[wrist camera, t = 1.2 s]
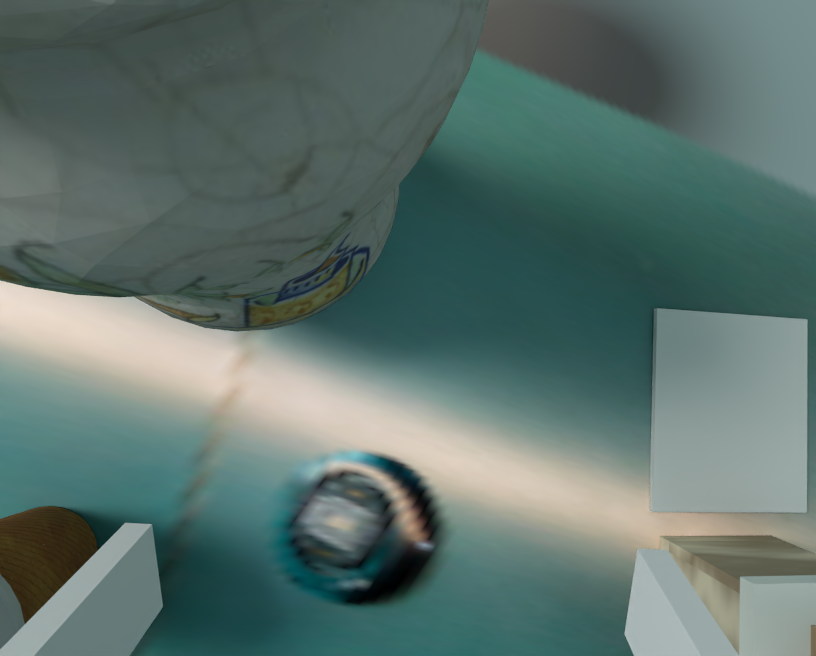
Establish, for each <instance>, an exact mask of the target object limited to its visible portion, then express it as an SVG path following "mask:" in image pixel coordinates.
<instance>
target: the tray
mask: <svg viewBox="0 0 816 656" xmlns="http://www.w3.org/2000/svg"><path fill="white" fill-rule="evenodd" d="M649 510H650V511H652V512H793V513H807V319H795V318H781V317H768V316H755V315H741V314H728V313H715V312H701V311H688V310H674V309H661V308H655V309H654V325H653V371H652V416H651V462H650V507H649Z"/></svg>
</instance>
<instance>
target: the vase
mask: <svg viewBox="0 0 816 656" xmlns="http://www.w3.org/2000/svg"><path fill="white" fill-rule="evenodd" d="M488 1H489V0H0V280H1V281H5V282H9V283H13V284H17V285H22V286H26V287H32V288H38V289H44V290H50V291H56V292H63V293H69V294H75V295H91V296H107V297H132V296H134V297H135V298H137V299H139V300H141V301H143V302H145V303H147V304H148V305H150V306H152V307H154V308H156V309H158V310H160V311H161V312H163V313H165V314H167V315H169V316H171V317H173V318H176V319H179V320H182V321H186V322H189V323H192V324H195V325H198V326H202V327H205V328H212V329H221V330H230V331H250V330H267V329H274V328H278V327H282V326H286V325H290V324H294V323H296V322H299V321H301V320H304V319H306V318H308V317H310V316H313V315H315V314H317V313H319V312H321V311H323V310H325V309H326V308H328V307H329V306H331V305H333V304H334V303H336V302H337V301H339V300H340V299H341V298H343V297H344V296H346V295H347V294H348V293H350V291H351V290H352V289H353V288H354V287H355V286H356V285H357V284H358V283H359V282H360V281H361V280H362V279H363V277H364V276H365V275H366V274H367V273H368V272H369V271H370V269H371V268H372V266H373V265H374V263H375V262H376V260H377V259H378V258H379V256H380V254H381V252H382V250H383V247H384V245H385V243H386V240H387V238H388V236H389V233H390V231H391V229H392V225H393V221H394V217H395V213H396V208H397V204H398V200H399V184H400V183H401V181H402V180H403V179H404V178H405V177H406V176H407V175H408V174H409V172H410V171H411V170H412V168H413V167H414V166H415V164H416V163H417V162H418V160H419V159H420V158H421V156H422V155H423V154H424V152H425V151H426V150H427V148H428V147H429V146H430V144H431V143H432V141H433V140H434V138H435V136H436V135H437V133H438V131H439V130H440V128H441V126H442V125H443V123H444V121H445V119H446V117H447V115H448V113H449V111H450V109H451V106H452V104H453V102H454V100H455V98H456V96H457V94H458V92H459V90H460V88H461V86H462V84H463V82H464V80H465V77H466V75H467V73H468V71H469V69H470V66H471V63H472V60H473V57H474V54H475V51H476V48H477V45H478V42H479V39H480V36H481V33H482V30H483V27H484V21H485V16H486V11H487V6H488Z"/></svg>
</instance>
